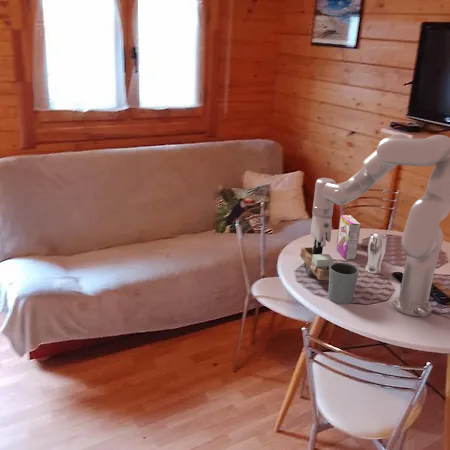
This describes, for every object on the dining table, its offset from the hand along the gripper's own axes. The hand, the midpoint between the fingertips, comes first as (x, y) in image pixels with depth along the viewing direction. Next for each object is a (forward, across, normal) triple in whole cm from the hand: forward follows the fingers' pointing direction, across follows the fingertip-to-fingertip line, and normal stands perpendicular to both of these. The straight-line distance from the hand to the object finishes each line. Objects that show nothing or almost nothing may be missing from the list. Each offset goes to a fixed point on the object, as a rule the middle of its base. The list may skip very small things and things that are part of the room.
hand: (317, 255), depth 193 cm
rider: (+3, -6, 0) cm, 6 cm away
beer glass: (+8, +1, -25) cm, 26 cm away
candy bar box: (+8, +17, -20) cm, 27 cm away
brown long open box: (+8, 0, 0) cm, 8 cm away
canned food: (+8, +29, -25) cm, 39 cm away
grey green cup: (+8, -20, -2) cm, 22 cm away
